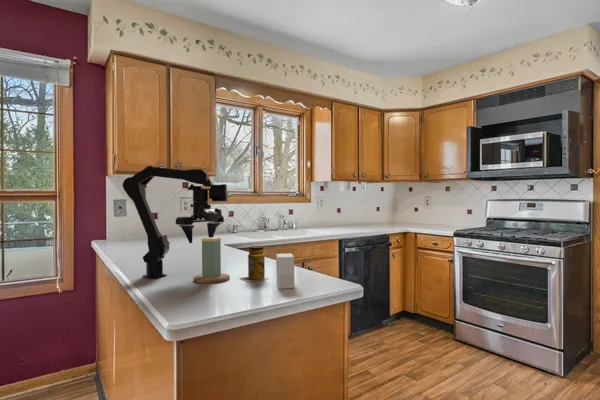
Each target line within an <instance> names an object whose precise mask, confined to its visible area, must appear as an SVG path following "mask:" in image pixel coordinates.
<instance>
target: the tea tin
mask: <svg viewBox="0 0 600 400" xmlns="http://www.w3.org/2000/svg"><path fill="white" fill-rule="evenodd" d="M221 239H222V237H214V236H213V237H209V236H207V237H204V238H203V237H202V238H201V266H202V267H201V274H202V278H216V277H218V276H220V275H221V273H222V267H221V264H222V263H221V261H222V260H221V259H222V257H221V254H222V253H221V249H222V248H221V245H222V243H221V241H222V240H221Z"/></svg>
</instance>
